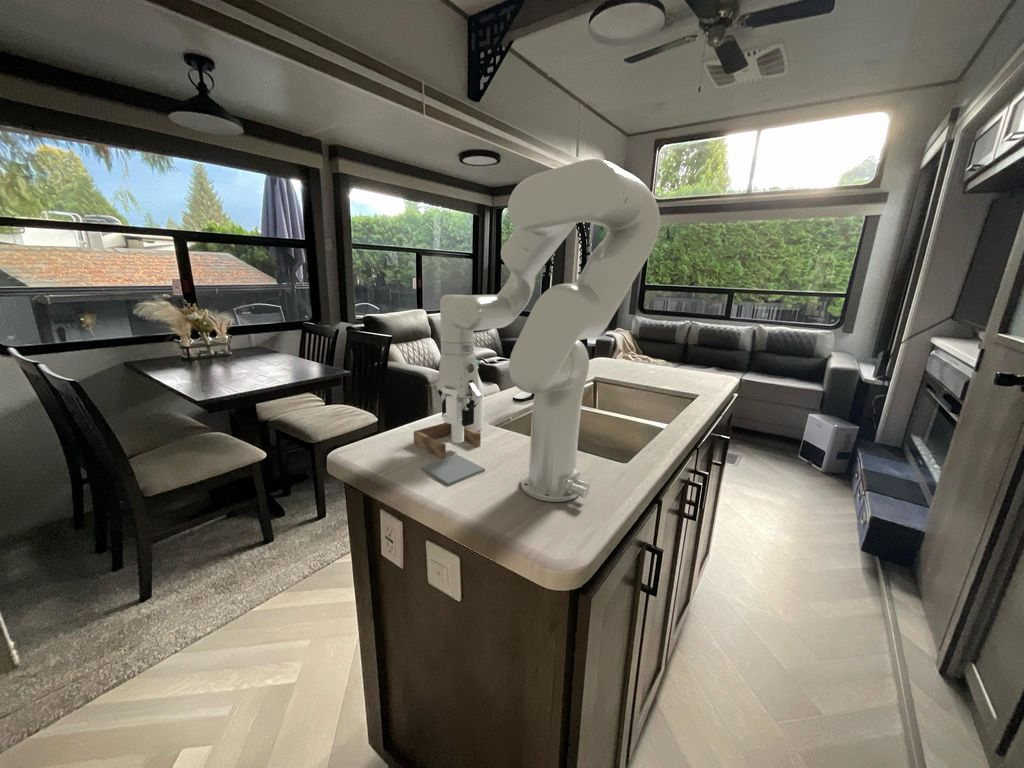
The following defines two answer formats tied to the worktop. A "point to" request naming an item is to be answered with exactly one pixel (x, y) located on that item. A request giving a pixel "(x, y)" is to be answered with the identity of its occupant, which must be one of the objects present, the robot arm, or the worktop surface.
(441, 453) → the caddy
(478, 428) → the milk bottle
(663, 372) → the worktop surface
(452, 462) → the trivet
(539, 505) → the worktop surface
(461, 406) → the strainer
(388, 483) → the worktop surface
